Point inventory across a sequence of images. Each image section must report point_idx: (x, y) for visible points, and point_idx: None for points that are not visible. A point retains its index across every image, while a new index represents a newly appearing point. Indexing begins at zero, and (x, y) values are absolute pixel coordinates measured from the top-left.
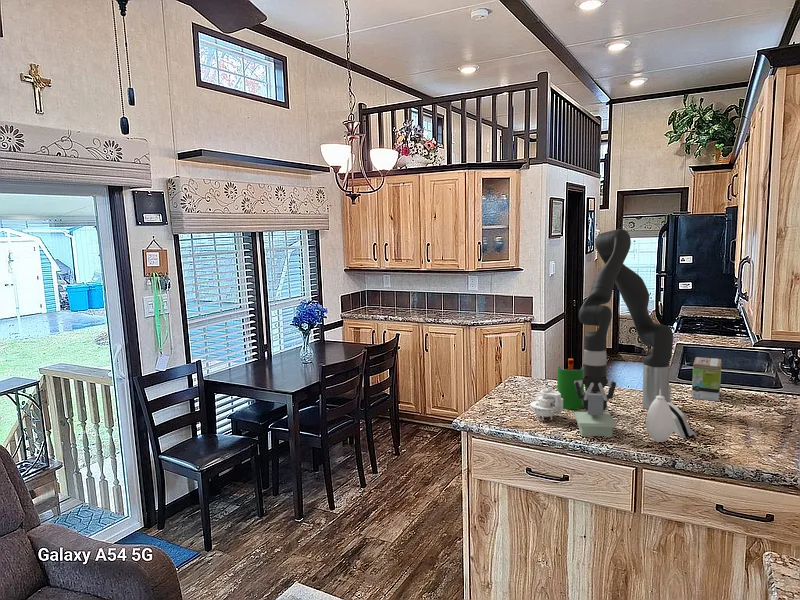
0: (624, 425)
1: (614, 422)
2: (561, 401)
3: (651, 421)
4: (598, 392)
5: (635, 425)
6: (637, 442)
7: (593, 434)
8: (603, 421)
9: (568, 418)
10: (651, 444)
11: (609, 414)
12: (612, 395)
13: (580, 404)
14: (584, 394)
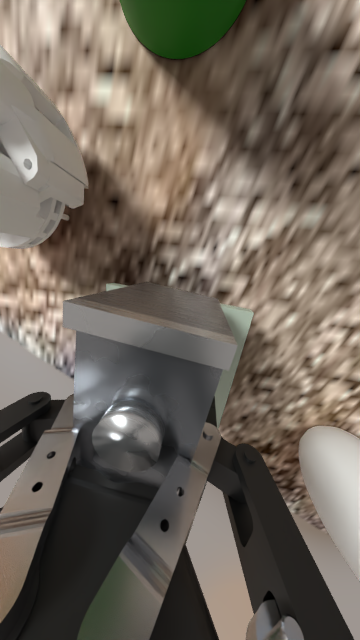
0: (299, 303)
1: (217, 418)
2: (39, 186)
3: (322, 521)
4: (162, 458)
5: (340, 308)
6: (255, 426)
7: None
8: None
9: (127, 205)
10: (283, 442)
11: (242, 339)
12: (249, 513)
13: (220, 7)
14: (65, 421)
